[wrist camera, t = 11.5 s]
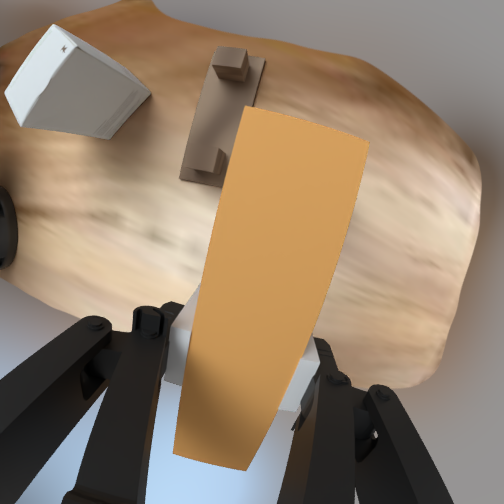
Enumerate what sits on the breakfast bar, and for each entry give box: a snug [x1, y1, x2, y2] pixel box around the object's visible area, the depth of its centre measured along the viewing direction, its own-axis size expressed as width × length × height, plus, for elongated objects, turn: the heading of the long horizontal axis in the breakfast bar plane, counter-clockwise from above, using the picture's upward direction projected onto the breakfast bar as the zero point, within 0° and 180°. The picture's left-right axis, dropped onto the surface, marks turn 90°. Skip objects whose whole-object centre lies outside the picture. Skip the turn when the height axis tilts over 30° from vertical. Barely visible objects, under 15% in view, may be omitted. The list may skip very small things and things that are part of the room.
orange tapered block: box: [173, 106, 370, 471], centre depth 11 cm, size 4×16×4 cm, turn 166°
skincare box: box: [5, 24, 151, 140], centre depth 20 cm, size 8×7×16 cm
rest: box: [179, 46, 265, 187], centre depth 25 cm, size 6×16×4 cm, turn 167°
